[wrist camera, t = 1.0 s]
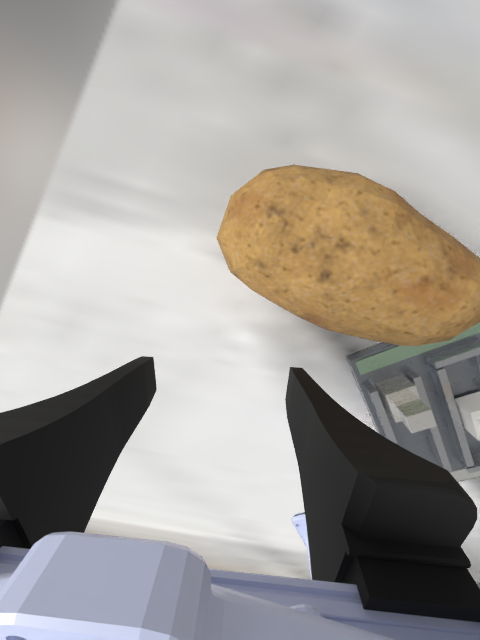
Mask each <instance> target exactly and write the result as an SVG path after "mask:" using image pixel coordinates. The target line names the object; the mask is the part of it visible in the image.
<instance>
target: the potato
mask: <svg viewBox="0 0 480 640" xmlns="http://www.w3.org/2000/svg"><path fill="white" fill-rule="evenodd" d="M217 240H218V243H219V245H220V248H221V250H222V253H223V255H224V258H225V260H226V263H227V265H228V268H229V270H230V272H231V273H232V274H234V275H235V276H236V277H237V278H238V279H240V280H241V281H242V282H243V283H244V284H246V285H247V286H248V287H249V288H250V289H251V290H253V291H255V292H256V293H258V294H260V295H261V296H263V297H265V298H266V299H268V300H270V301H272V302H273V303H275V304H277V305H278V306H280V307H282V308H284V309H285V310H287V311H289V312H291V313H293V314H295V315H296V316H298V317H300V318H302V319H304V320H306V321H309V322H311V323H313V324H315V325H317V326H320V327H322V328H324V329H326V330H330V331H335V332H339V333H343V334H347V335H352V336H356V337H360V338H364V339H369V340H374V341H379V342H384V343H390V344H395V345H400V346H420V345H426V344H431V343H437V342H443V341H449V340H451V339H452V338H454V337H455V336H457V335H459V334H460V333H462V332H464V331H465V330H467V329H469V328H471V327H472V326H474V325H476V324H477V323H479V322H480V258H479V257H477V256H476V255H475V254H474V253H472V252H471V251H470V250H469V249H467V248H466V247H465V246H464V245H462V244H461V243H460V242H459V241H457V240H456V239H455V238H454V237H452V236H451V235H450V234H448V233H447V232H445V231H444V230H443V229H441V228H440V227H438V226H437V225H435V224H434V223H433V222H431V221H430V220H428V219H427V218H426V217H424V216H423V215H421V214H420V213H419V212H418V211H417V210H415V209H414V208H413V207H412V206H411V205H410V204H409V203H408V202H406V201H405V200H404V199H403V198H402V197H401V196H400V195H398V194H397V193H396V192H395V191H393V190H391V189H389V188H387V187H385V186H383V185H381V184H378V183H376V182H374V181H372V180H370V179H368V178H366V177H364V176H362V175H360V174H358V173H351V172H344V171H336V170H329V169H322V168H314V167H306V166H299V165H290V166H284V167H278V168H272V169H266V170H263V171H262V172H260V173H259V174H258V175H257V176H255V177H254V178H253V179H252V180H250V181H249V182H248V183H246V184H245V185H244V186H243V187H241V188H240V189H239V190H238V191H236V192H235V193H234V194H233V195H232V196H231V197H230V200H229V203H228V206H227V209H226V212H225V215H224V218H223V221H222V224H221V226H220V229H219V232H218V235H217Z"/></svg>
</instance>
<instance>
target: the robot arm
mask: <svg viewBox="0 0 480 640" xmlns="http://www.w3.org/2000/svg"><path fill="white" fill-rule="evenodd" d="M155 392H156V379H155V369H154V360H153V357H143V356H142V357H139V358H137V359H135V360H133V361H131V362H129V363H127V364H125V365H123V366H121V367H119V368H117V369H115V370H113V371H112V372H110V373H108V374H106V375H104V376H101V377H99V378H97V379H95V380H93V381H91V382H89V383H87V384H85V385H82V386H80V387H78V388H75V389H73V390H70V391H68V392H65V393H63V394H60V395H57V396H55V397H52V398H49V399H46V400H43V401H40V402H37V403H34V404H31V405H27V406H24V407H21V408H17V409H14V410H10V411H6V412H2V413H0V640H480V583H479V584H478V585H477V584H476V582H475V581H474V579H473V578H472V576H471V574H470V573H469V571H468V570H467V568H469V567H470V566H471V564H470V561H469V559H468V558H467V556H466V554H465V553H464V551H463V550H462V548H461V547H460V546H461V545H462V543H463V542H464V540H465V539H466V537H467V536H468V534H469V533H470V531H471V530H472V528H473V527H474V524H475V522H476V520H477V508H476V506H475V504H474V502H473V500H472V499H471V498H470V497H469V495H468V494H467V493H466V492H465V491H464V489H463V488H462V487H461V486H460V484H459V483H458V482H457V481H456V480H455V478H454V477H453V476H452V475H451V474H450V472H449V471H448V470H446V469H444V468H442V467H440V466H438V465H436V464H434V463H432V462H430V461H428V460H426V459H424V458H422V457H420V456H418V455H416V454H414V453H412V452H410V451H408V450H406V449H404V448H403V447H401V446H399V445H397V444H395V443H394V442H392V441H390V440H389V439H387V438H385V437H384V436H382V435H380V434H379V433H377V432H376V431H374V430H373V429H371V428H370V427H368V426H367V425H365V424H364V423H362V422H361V421H359V420H358V419H357V418H355V417H354V416H353V415H351V414H350V413H349V412H347V411H346V410H345V409H344V408H343V407H341V406H340V405H339V404H338V403H337V402H336V401H334V400H333V399H332V398H331V397H330V396H329V395H328V394H327V393H326V392H325V391H324V390H323V389H322V388H321V387H320V386H319V385H318V384H317V383H316V382H315V381H314V380H313V379H312V378H311V377H310V376H309V375H308V374H307V373H306V371H305V370H304V369H303V368H295V367H290V372H289V379H288V386H287V392H286V399H285V400H286V410H287V418H288V423H289V427H290V431H291V435H292V440H293V444H294V448H295V452H296V457H297V461H298V466H299V472H300V479H301V486H302V493H303V501H304V509H305V514H302V515H298V516H294V517H293V518H292V523H293V525H294V527H295V528H296V530H297V532H298V533H299V535H300V537H301V538H302V540H303V542H304V544H305V545H306V547H307V554H308V561H309V567H310V574H311V580H308V579H299V578H290V577H280V576H271V575H262V574H253V573H244V572H235V571H226V570H216V569H208V567H207V565H206V563H205V561H204V559H203V557H202V556H200V555H199V554H197V553H196V552H194V551H193V550H191V549H190V548H188V547H186V546H182V545H178V544H174V543H170V542H166V541H156V540H147V539H137V538H128V537H118V536H109V535H99V534H90V533H84V531H85V529H86V526H87V524H88V522H89V520H90V517H91V515H92V513H93V510H94V508H95V506H96V503H97V501H98V499H99V497H100V495H101V492H102V490H103V488H104V486H105V484H106V482H107V480H108V477H109V475H110V473H111V471H112V469H113V467H114V465H115V463H116V461H117V459H118V457H119V455H120V453H121V451H122V450H123V448H124V446H125V445H126V443H127V441H128V440H129V438H130V436H131V435H132V433H133V432H134V430H135V428H136V427H137V425H138V424H139V422H140V420H141V419H142V417H143V415H144V414H145V412H146V411H147V409H148V407H149V405H150V403H151V401H152V399H153V396H154V394H155Z"/></svg>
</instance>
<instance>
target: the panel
mask: <svg viewBox="0 0 480 640" xmlns="http://www.w3.org/2000/svg"><path fill="white" fill-rule="evenodd" d="M346 358H347V361H348V363H349V365H350V368H351V370H352V373H353V375H354V378H355V380H356V382H357V385H358V387H359V390H360V392H361V394H362V397H363V399H364V402H365V404H366V407H367V409H368V411H369V414H370V416H371V419H372V421H373V423H374V426H375V428H376V431H377V433H379V434H380V435H382V436H384V437H385V438H387V439H389V440H390V441H392V442H394V443H395V444H397V445H399V446H401V447H403V448H404V449H406V450H408V451H410V452H412V453H414V454H416V455H418V456H420V457H422V458H424V459H426V460H428V461H430V462H432V463H434V464H436V465H438V466H440V467H442V468H444V469H446V470H448V471H449V472H450V474H451V475H452V476H453V477H454V478H455V480H456V481H457V482H459V481H464V480H468V479H472V478H476V477H480V441H478V440H477V439H476V438H475V437H474V436H472V435H471V434H470V433H469V432H468V431H467V430H466V429H464V428H463V426H462V423H461V420H460V416H459V413H458V410H457V406H456V403H455V400H454V399H456V398H459V397H463V396H466V395H469V394H472V393H476V392H479V391H480V322H479V323H477V324H476V325H474V326H472V327H471V328H469V329H467V330H465V331H464V332H462V333H460V334H459V335H457V336H455V337H454V338H452V339H451V340H449V341H443V342H437V343H431V344H426V345H420V346H400V345H395V344H390V343H384V342H383V343H381V344H378V345H375V346H373V347H370V348H367V349H365V350H362V351H359V352H357V353H354V354H351V355H349V356H346Z"/></svg>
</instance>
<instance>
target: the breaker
mask: <svg viewBox="0 0 480 640" xmlns="http://www.w3.org/2000/svg"><path fill="white" fill-rule="evenodd" d="M454 400H455V403H456V406H457V410H458V413H459V416H460V420H461V423H462V426H463V428H464V429H466V430H467V431H468V432H469V433H470V434H471V435H472V436H474V437H475V438H476V439H477V440H478V441H480V391H479V392H476V393H472V394H469V395H466V396H463V397H459V398H456V399H454Z"/></svg>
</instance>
